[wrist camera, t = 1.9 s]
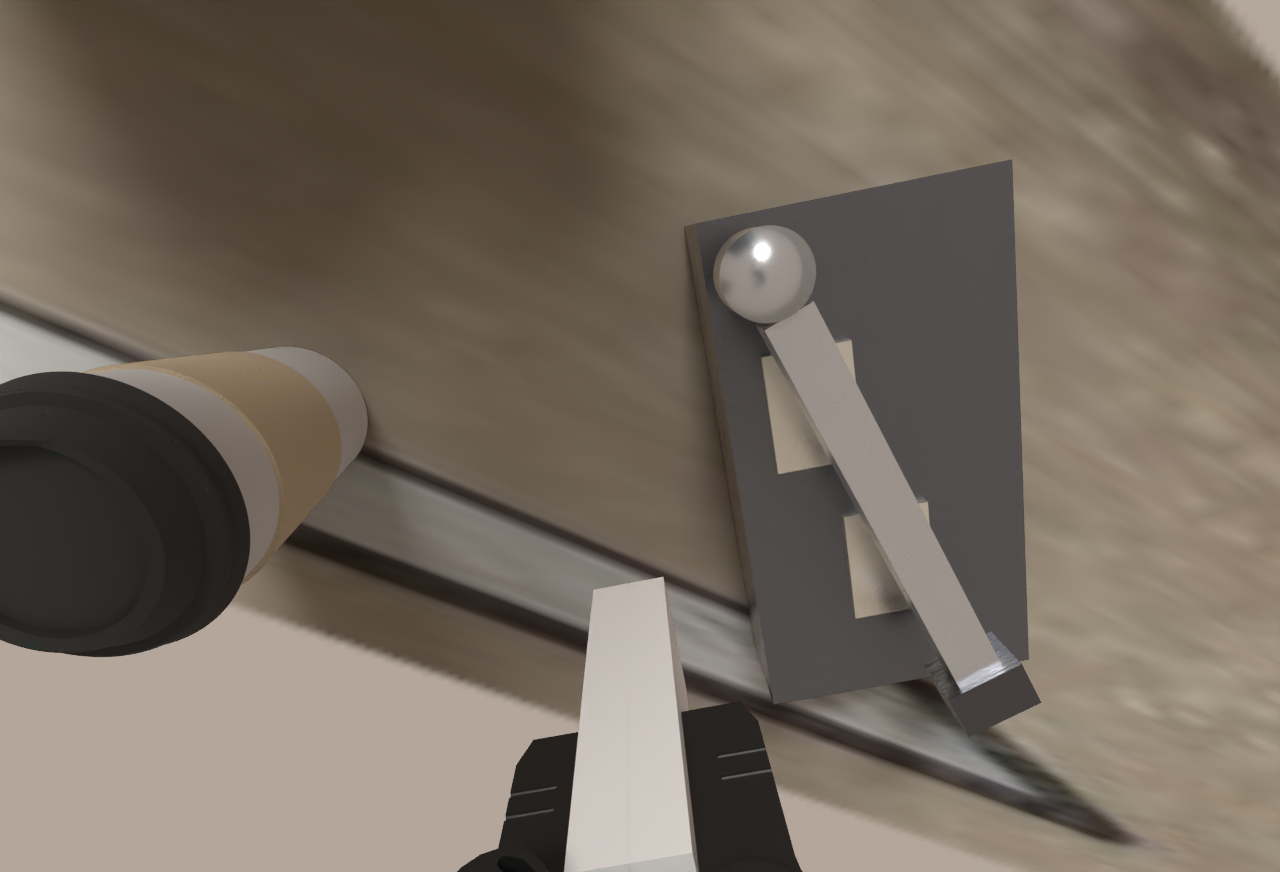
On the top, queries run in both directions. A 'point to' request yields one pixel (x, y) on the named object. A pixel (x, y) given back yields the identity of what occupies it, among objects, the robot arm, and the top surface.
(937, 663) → the grey long bar
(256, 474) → the coffee cup
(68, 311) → the top surface
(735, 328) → the lever switch
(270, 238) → the top surface
